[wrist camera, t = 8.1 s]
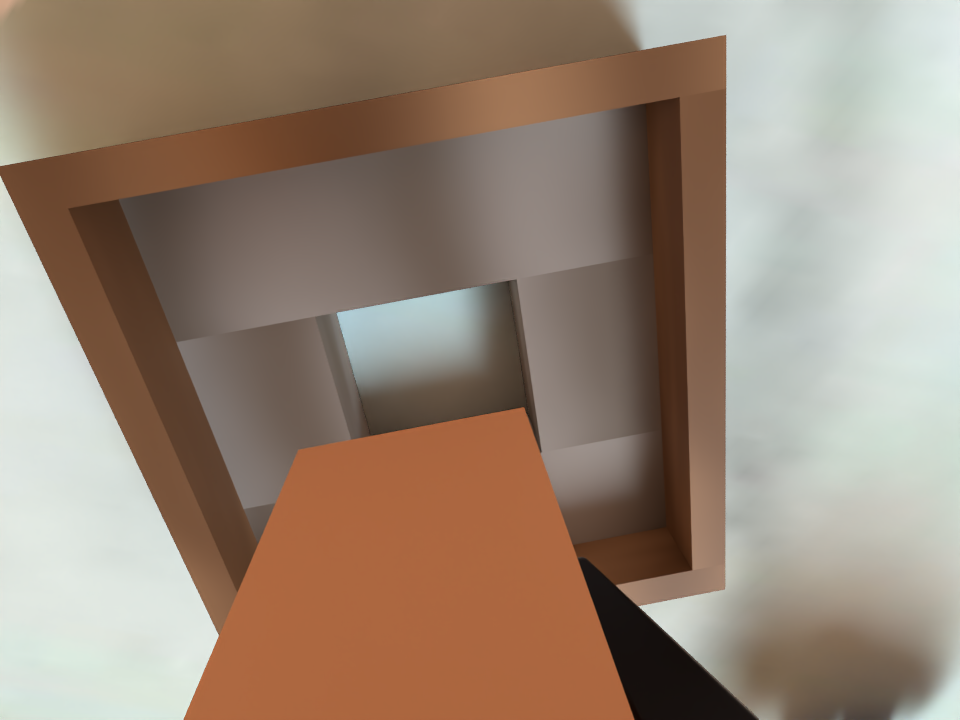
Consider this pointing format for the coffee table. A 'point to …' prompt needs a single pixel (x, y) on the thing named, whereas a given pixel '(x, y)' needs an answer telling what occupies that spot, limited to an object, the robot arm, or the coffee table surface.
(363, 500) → the peg
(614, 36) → the coffee table surface
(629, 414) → the socket box
